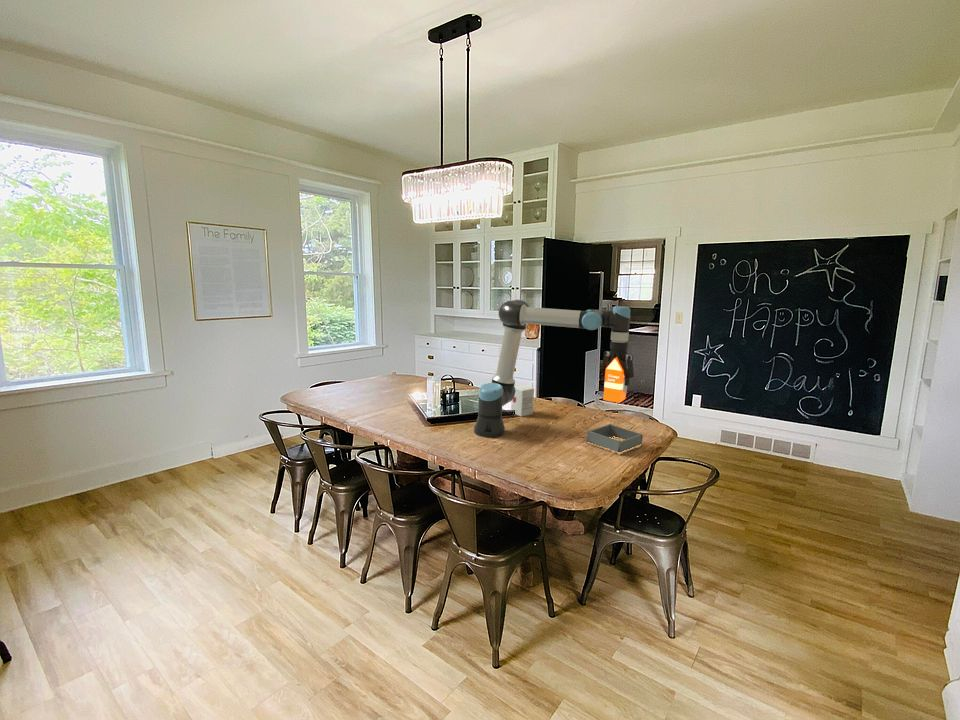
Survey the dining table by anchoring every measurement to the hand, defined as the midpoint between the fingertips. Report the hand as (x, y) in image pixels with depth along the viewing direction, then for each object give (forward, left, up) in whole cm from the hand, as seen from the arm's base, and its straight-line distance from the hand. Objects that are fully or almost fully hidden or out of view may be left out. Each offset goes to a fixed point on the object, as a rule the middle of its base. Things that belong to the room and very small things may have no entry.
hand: (615, 390), depth 207 cm
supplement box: (-2, +57, -26) cm, 63 cm away
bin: (0, -2, -26) cm, 26 cm away
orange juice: (0, 0, -5) cm, 5 cm away
